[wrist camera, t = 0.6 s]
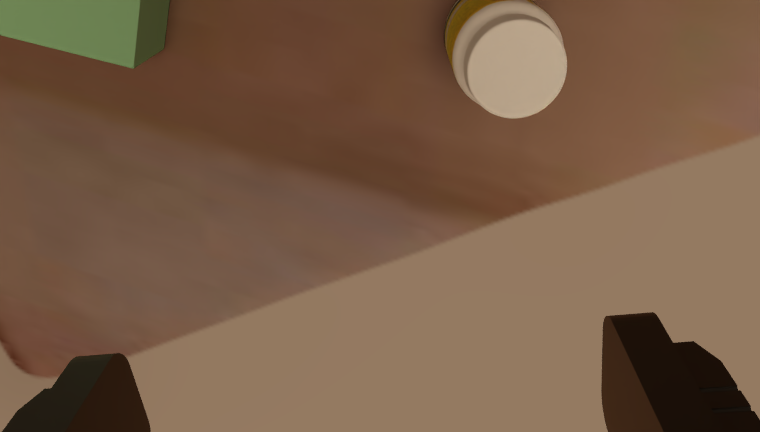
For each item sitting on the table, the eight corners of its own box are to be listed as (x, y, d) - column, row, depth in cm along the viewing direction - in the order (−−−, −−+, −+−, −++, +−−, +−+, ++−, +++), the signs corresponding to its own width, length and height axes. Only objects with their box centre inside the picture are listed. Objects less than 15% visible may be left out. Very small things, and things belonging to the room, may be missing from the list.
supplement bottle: (432, 66, 36) (441, 112, 28) (458, -28, 34) (475, -6, 26) (521, 88, 36) (554, 140, 28) (552, -4, 34) (596, 25, 26)
